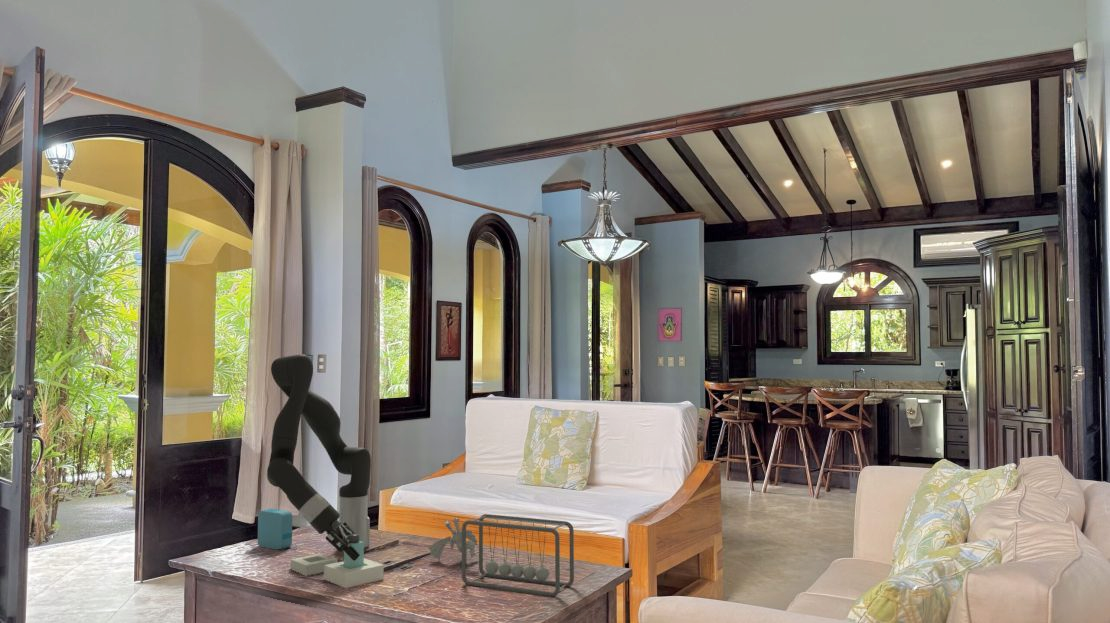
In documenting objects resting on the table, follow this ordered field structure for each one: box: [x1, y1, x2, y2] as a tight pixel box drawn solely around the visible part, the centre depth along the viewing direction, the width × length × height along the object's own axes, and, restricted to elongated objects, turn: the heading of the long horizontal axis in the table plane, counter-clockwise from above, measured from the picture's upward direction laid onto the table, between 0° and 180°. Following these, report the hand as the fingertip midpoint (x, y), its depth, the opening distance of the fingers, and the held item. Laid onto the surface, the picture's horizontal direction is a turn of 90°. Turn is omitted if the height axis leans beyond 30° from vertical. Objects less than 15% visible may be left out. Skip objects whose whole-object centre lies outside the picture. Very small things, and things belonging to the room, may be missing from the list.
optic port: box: [323, 557, 385, 589], centre depth 216 cm, size 12×12×4 cm
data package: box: [257, 508, 293, 550], centre depth 255 cm, size 12×4×12 cm, turn 60°
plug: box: [343, 534, 365, 569], centre depth 216 cm, size 4×4×10 cm
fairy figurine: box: [428, 517, 479, 561], centre depth 234 cm, size 10×18×14 cm, turn 65°
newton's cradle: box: [461, 513, 575, 598], centre depth 209 cm, size 30×10×18 cm, turn 65°
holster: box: [290, 552, 339, 577], centre depth 227 cm, size 10×10×3 cm
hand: (360, 555), depth 216 cm, fingers closed on plug, 5 cm apart
